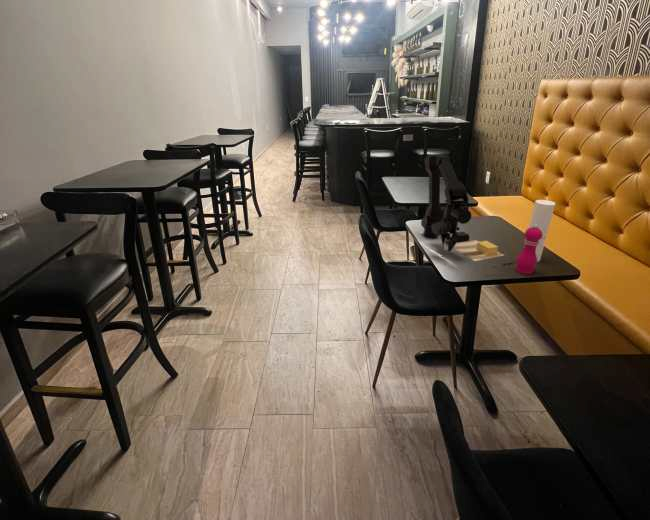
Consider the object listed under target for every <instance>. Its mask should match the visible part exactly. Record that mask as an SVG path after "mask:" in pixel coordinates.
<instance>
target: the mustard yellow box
mask: <svg viewBox="0 0 650 520" xmlns="http://www.w3.org/2000/svg"><path fill="white" fill-rule="evenodd" d="M498 249H499V246H498V245H495V244H494V243H492V242H490V241H488V240H482V241H479V242H477V247H476V250H478V251H479V252H481V253H483V254H485V255H487V256H489V255H494V254H497V251H498Z"/></svg>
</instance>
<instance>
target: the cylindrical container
mask: <svg viewBox="0 0 650 520" xmlns="http://www.w3.org/2000/svg"><path fill="white" fill-rule="evenodd" d="M555 206H556V203H555V202H554V201H552V200H548V199H537V200H535V202H534V206H533V211H532V213H531V217H530V222H529V227H528V228H531V227H533V225H534V224H537V225H538V229H540V230H541V231H542V238H541V239H540V240H539V244H538V245H537V247H536V257H537V263H538V262H540V261H541V258H542V254H543V252H544V251H543V250H544V247H545V244H546V239H547V235H548V233H549V229H550V225H551V221H552V218H553V213H554V210H555V208H556V207H555ZM523 246H524V247H525V245H523ZM524 247H523V248H524Z"/></svg>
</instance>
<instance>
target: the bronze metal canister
mask: <svg viewBox="0 0 650 520" xmlns="http://www.w3.org/2000/svg"><path fill="white" fill-rule="evenodd" d="M447 237H449V236H447ZM447 237H445V240H444V247H443V246H442V247H443V248H442V252H443V253H445V254H451V251H448V245H449V240H448V239H447Z"/></svg>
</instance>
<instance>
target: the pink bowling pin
mask: <svg viewBox="0 0 650 520" xmlns="http://www.w3.org/2000/svg"><path fill="white" fill-rule="evenodd" d="M524 236H525V238H524V246H525V247H523V248H522V251H520V253H519V254H518V256H517V258H516V263H517V264H516V267H515V270H516V272H518V273H520V274H522V275H523V274H524V275H531V274H533V273H534V267H536V265H538V262H537V257H536V247H537V245H538V244H539V240H540V239H541V238H542V231H541V230H540V229H538V225H537V224H534V225H533V227H531V228H529V227H528V228H527V229H526V230H525V233H524Z"/></svg>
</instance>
